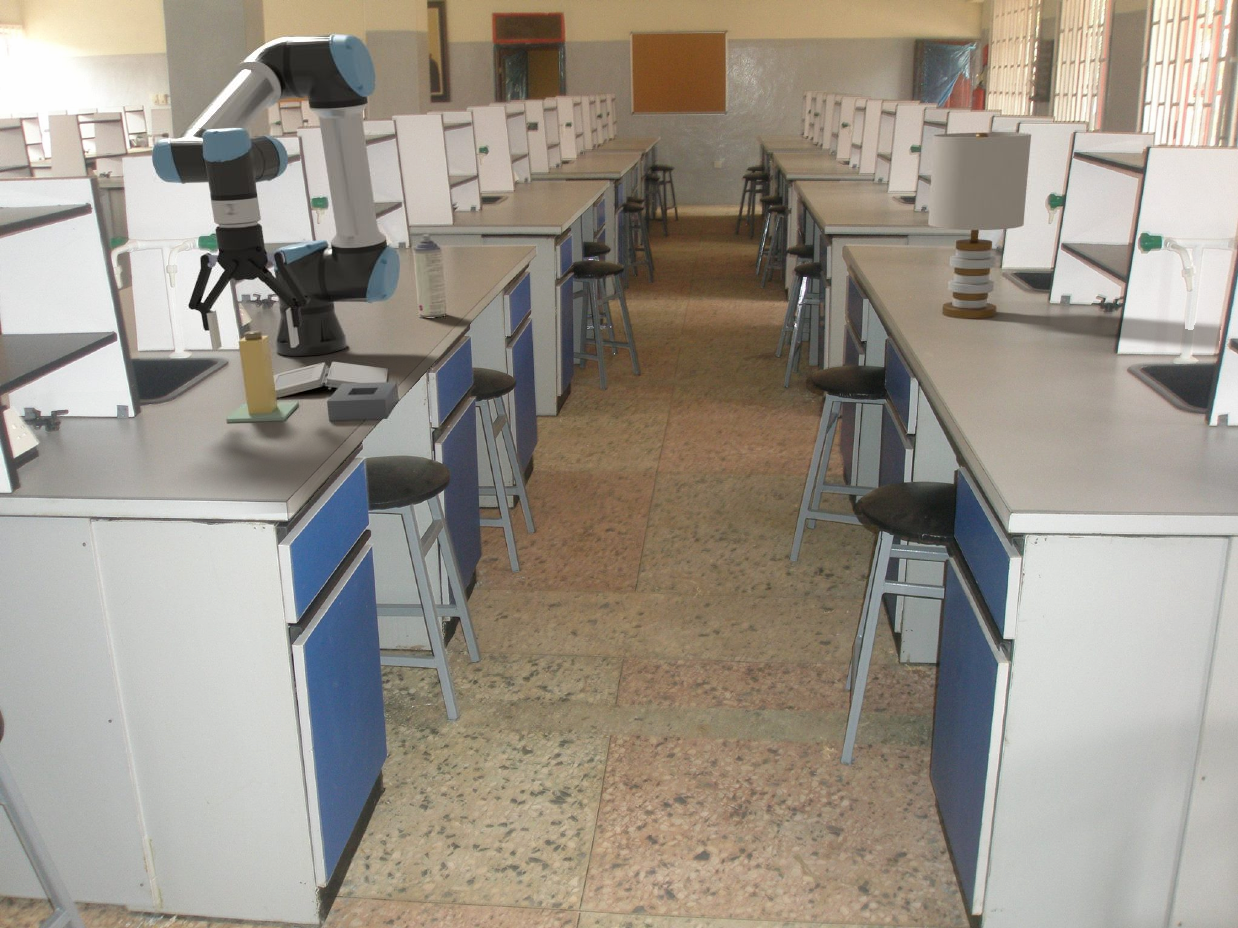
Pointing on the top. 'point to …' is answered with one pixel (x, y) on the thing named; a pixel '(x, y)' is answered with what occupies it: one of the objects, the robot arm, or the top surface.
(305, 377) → the gadget
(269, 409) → the plug
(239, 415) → the mat
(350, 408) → the grey block with hole
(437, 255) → the aerosol can
